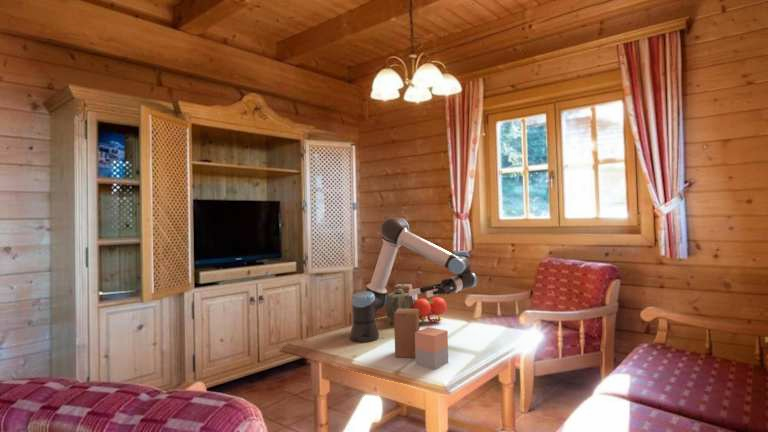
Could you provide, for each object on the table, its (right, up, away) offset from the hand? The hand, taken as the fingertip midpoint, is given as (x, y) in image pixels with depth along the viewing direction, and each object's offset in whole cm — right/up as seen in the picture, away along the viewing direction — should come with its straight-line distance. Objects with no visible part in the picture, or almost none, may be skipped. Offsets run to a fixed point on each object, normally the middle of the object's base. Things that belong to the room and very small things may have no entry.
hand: (417, 294), depth 211 cm
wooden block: (-5, -27, -6) cm, 28 cm away
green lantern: (-4, -26, +64) cm, 69 cm away
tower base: (+5, -27, -19) cm, 33 cm away
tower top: (+4, -20, -20) cm, 28 cm away
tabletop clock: (-6, -26, +49) cm, 56 cm away
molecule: (+9, -26, +49) cm, 56 cm away
